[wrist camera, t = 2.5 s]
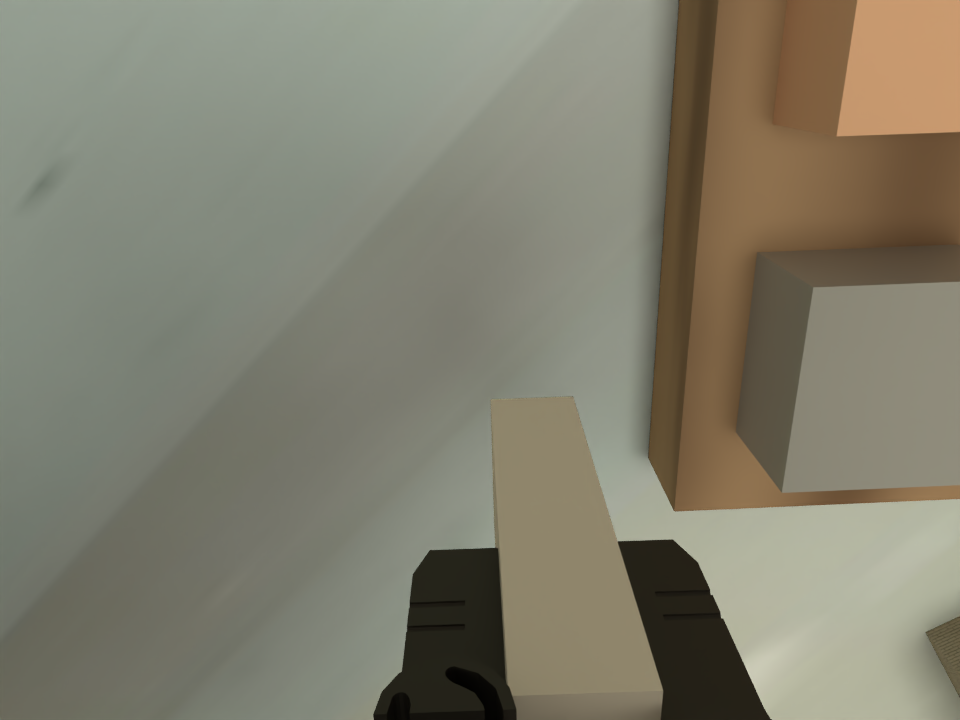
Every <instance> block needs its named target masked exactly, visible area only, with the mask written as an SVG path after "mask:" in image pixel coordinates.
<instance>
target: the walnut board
mask: <svg viewBox="0 0 960 720" xmlns="http://www.w3.org/2000/svg"><path fill="white" fill-rule="evenodd" d="M786 7H787V0H679V12H678V26H677V41H676V56H675V71H674V86H673V101H672V115H671V130H670V145H669V160H668V175H667V189H666V204H665V219H664V234H663V249H662V263H661V278H660V293H659V308H658V323H657V337H656V352H655V367H654V382H653V397H652V411H651V426H650V441H649V456H648V458H649V460H650V462H651V464H652V466H653V469H654V471H655V473H656V475H657V477H658V479H659V481H660V483H661V485H662V487H663V489H664V491H665V493H666V495H667V497H668V499H669V501H670V504H671V506H672V508H673V510H674V511H694V510H716V509H739V508H762V507H785V506H807V505H830V504H853V503H875V502H898V501H921V500H944V499H960V485H951V486H928V487H905V488H883V489H860V490H837V491H814V492H791V493H782V492H781V491H780V490H779V489H778V487H777V486H776V485H775V483H774V482H773V481H772V479H771V478H770V477H769V475H768V474H767V473H766V471H765V470H764V469H763V467H762V466H761V465H760V463H759V462H758V461H757V459H756V458H755V457H754V456H753V454H752V453H751V452H750V450H749V449H748V448H747V446H746V445H745V444H744V442H743V441H742V440H741V438H740V437H739V436H738V434H737V433H736V425H737V416H738V408H739V400H740V391H741V383H742V374H743V366H744V358H745V349H746V341H747V333H748V324H749V316H750V308H751V299H752V291H753V283H754V274H755V266H756V257H757V252H777V251H803V250H829V249H854V248H880V247H906V246H932V245H960V132H944V133H917V134H889V135H862V136H832V135H826V134H821V133H816V132H811V131H805V130H800V129H795V128H789V127H784V126H779V125H774V124H773V115H774V107H775V99H776V90H777V82H778V74H779V65H780V57H781V49H782V40H783V32H784V23H785V15H786Z"/></svg>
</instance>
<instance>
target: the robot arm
mask: <svg viewBox="0 0 960 720" xmlns="http://www.w3.org/2000/svg"><path fill="white" fill-rule="evenodd" d="M491 431H492V466H493V500H494V530H495V548H482V549H453V550H430V551H429V552H428V554H427V555H426V556H425V558H424V559H423V561H422V562H421V564H420V565H419V566H418V568H417V569H416V571H415V572H414V574H413V578H412V587H411V596H410V608H409V614H408V623H407V632H406V641H405V650H404V659H403V668H402V672H401V673H399V674H398V675H397V676H396V677H395V678H394V679H393V680H392V682H391V683H390V684H389V685H388V686H387V687H386V688H385V689H384V690H383V691H382V693H381V696H380V698H379V701H378V704H377V706H376V709H375V711H374V714H373V715H374V720H772V719H770V717H769V716H768V714H767V713H766V711H765V709H764V707H763V705H762V703H761V701H760V699H759V696H758V694H757V692H756V690H755V688H754V685H753V683H752V681H751V679H750V677H749V674H748V672H747V670H746V668H745V666H744V663H743V661H742V659H741V657H740V655H739V652H738V650H737V648H736V646H735V644H734V641H733V639H732V637H731V635H730V633H729V630H728V628H727V626H726V624H725V622H724V619H721V615H720V611H719V608H718V606H717V604H716V602H715V600H714V597H713V595H711V594H710V589H709V586H708V584H707V582H706V580H705V578H704V575H703V573H702V571H701V569H700V567H699V564H698V562H697V561H696V560H694V559H693V558H692V557H691V556H690V555H689V554H688V553H687V552H686V551H685V550H684V549H682V548H681V547H680V546H679V545H678V544H677V543H676V542H675V541H674V540H647V541H618V542H617V538H616V535H615V532H614V529H613V525H612V522H611V519H610V516H609V512H608V509H607V506H606V503H605V499H604V496H603V493H602V490H601V486H600V483H599V480H598V477H597V473H596V470H595V467H594V464H593V460H592V457H591V454H590V451H589V447H588V444H587V441H586V438H585V434H584V431H583V428H582V424H581V421H580V418H579V415H578V411H577V408H576V405H575V402H574V398H573V397H545V398H516V399H491Z"/></svg>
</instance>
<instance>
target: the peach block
mask: <svg viewBox="0 0 960 720" xmlns="http://www.w3.org/2000/svg"><path fill="white" fill-rule="evenodd" d="M773 124H774V125H779V126H784V127H789V128H795V129H800V130H805V131H811V132H816V133H821V134H826V135H832V136H862V135H889V134H917V133H944V132H960V0H787V7H786V15H785V23H784V32H783V40H782V49H781V57H780V65H779V74H778V82H777V90H776V99H775V107H774V115H773Z"/></svg>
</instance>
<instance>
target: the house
mask: <svg viewBox="0 0 960 720" xmlns="http://www.w3.org/2000/svg"><path fill="white" fill-rule="evenodd" d="M926 634H927V636H928V638H929V640H930V642H931V644H932V646H933V648H934V650H935V651H936V653H937V655H938V657H939V659H940V661H941V663H942V665H943V667H944V668H945V670H946V672H947V674H948V676H949V678H950V680H951V682H952V684H953V686H954V687H955V689H956V691H957V693H958V695H959V697H960V616H959V617H957V618H955V619H953V620H951V621H949V622H946V623H944V624H942V625H940V626H938V627H936V628H934V629H931V630H929V631H927V632H926Z"/></svg>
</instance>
